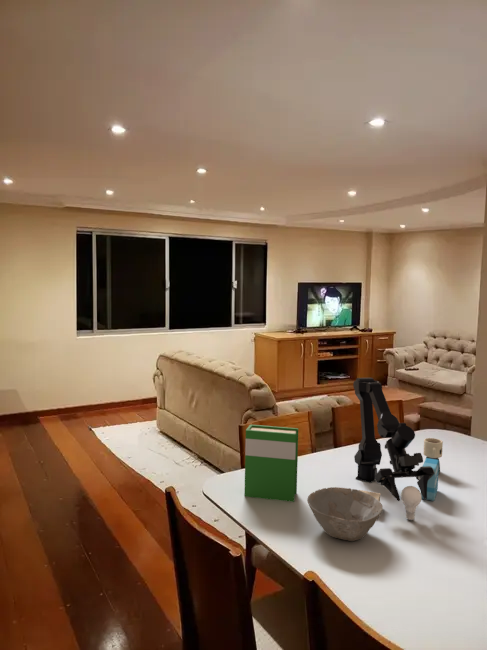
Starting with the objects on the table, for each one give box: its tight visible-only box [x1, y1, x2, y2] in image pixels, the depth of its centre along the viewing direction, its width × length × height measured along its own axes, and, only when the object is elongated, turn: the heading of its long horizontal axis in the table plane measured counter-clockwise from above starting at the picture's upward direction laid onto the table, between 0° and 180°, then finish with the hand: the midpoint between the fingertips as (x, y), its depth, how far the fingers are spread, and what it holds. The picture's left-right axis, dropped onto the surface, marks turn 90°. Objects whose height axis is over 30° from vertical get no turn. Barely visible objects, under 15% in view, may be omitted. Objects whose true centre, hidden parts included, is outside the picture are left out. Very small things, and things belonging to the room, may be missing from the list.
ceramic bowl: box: [306, 486, 384, 542], centre depth 156 cm, size 22×23×10 cm
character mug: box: [423, 437, 444, 474], centre depth 208 cm, size 11×7×13 cm, turn 165°
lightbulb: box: [400, 485, 423, 521], centre depth 166 cm, size 6×6×11 cm
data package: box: [420, 457, 440, 502], centre depth 186 cm, size 12×4×12 cm, turn 153°
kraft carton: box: [358, 489, 381, 503], centre depth 173 cm, size 7×7×5 cm
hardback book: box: [243, 424, 299, 503], centre depth 183 cm, size 18×7×24 cm, turn 77°
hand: (412, 500), depth 165 cm, fingers open, 9 cm apart
